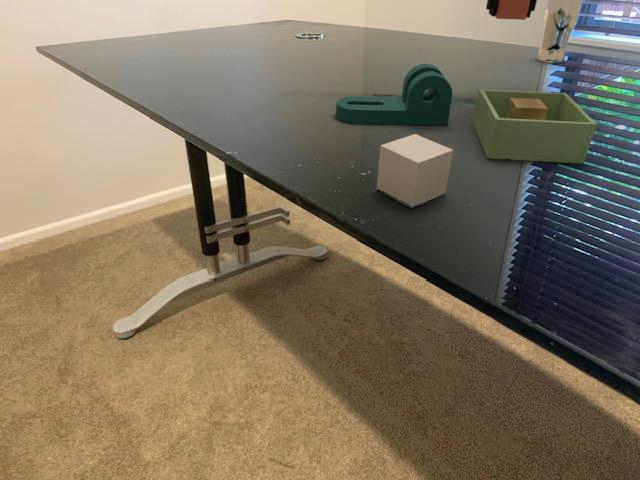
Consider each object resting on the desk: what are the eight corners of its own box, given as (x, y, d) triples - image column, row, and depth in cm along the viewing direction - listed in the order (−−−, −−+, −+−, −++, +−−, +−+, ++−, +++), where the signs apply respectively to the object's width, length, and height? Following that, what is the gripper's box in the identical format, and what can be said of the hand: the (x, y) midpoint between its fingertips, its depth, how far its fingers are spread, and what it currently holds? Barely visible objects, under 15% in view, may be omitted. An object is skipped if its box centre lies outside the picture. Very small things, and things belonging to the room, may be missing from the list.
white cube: (445, 195, 62) (453, 150, 59) (411, 210, 59) (418, 163, 56) (409, 177, 66) (415, 133, 63) (376, 189, 63) (380, 145, 59)
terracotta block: (519, 14, 83) (526, -16, 80) (525, 19, 79) (533, -12, 77) (491, 13, 83) (497, -17, 81) (496, 18, 79) (502, -13, 77)
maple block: (532, 126, 79) (540, 98, 77) (540, 137, 76) (548, 108, 73) (503, 125, 80) (510, 97, 77) (509, 136, 76) (516, 107, 73)
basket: (555, 128, 81) (566, 93, 78) (583, 164, 70) (597, 124, 67) (472, 124, 82) (479, 89, 79) (487, 158, 71) (496, 119, 68)
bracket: (439, 110, 87) (446, 64, 83) (447, 125, 82) (455, 75, 77) (335, 108, 87) (337, 62, 83) (336, 123, 81) (338, 73, 77)
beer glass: (566, 65, 113) (587, -9, 105) (533, 62, 115) (551, -11, 107) (565, 58, 119) (585, -13, 110) (534, 55, 121) (551, -15, 112)
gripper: (591, -123, 73) (556, 13, 83) (472, -125, 75) (452, 9, 85) (610, -125, 67) (569, 22, 77) (480, -127, 68) (458, 18, 79)
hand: (508, 14), depth 81 cm, fingers closed on terracotta block, 4 cm apart
